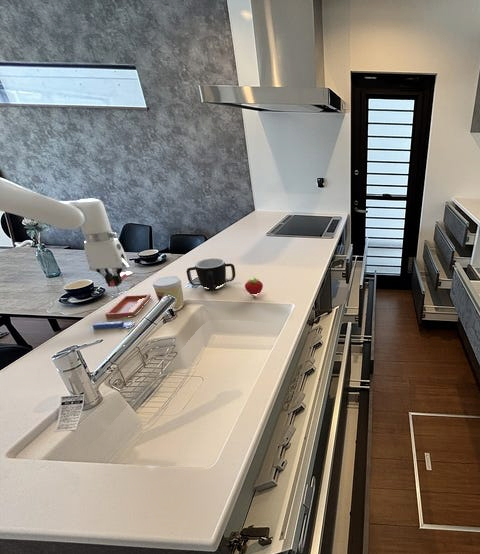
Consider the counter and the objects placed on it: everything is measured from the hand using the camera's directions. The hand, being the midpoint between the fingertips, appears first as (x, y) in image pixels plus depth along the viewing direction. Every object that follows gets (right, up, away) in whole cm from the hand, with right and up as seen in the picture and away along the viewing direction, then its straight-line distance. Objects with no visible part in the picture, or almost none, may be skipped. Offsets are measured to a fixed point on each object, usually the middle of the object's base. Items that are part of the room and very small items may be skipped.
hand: (115, 284), depth 111 cm
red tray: (-2, -10, +10) cm, 14 cm away
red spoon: (-1, +2, +4) cm, 5 cm away
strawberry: (+43, -6, +24) cm, 49 cm away
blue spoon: (+2, -15, -2) cm, 16 cm away
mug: (+21, -2, +31) cm, 37 cm away
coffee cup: (+14, -10, +12) cm, 21 cm away
